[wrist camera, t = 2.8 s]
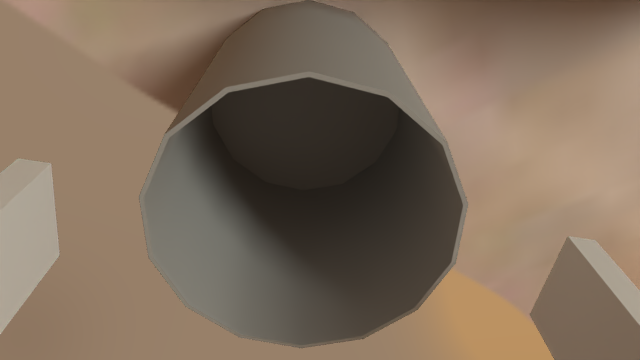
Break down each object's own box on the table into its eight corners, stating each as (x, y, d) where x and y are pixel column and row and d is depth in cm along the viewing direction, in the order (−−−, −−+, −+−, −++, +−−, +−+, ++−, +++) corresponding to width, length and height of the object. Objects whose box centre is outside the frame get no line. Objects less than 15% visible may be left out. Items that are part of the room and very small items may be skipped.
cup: (204, -5, 19) (118, 65, 11) (411, 3, 20) (495, 76, 11) (217, 183, 23) (162, 346, 15) (389, 187, 24) (437, 349, 15)
